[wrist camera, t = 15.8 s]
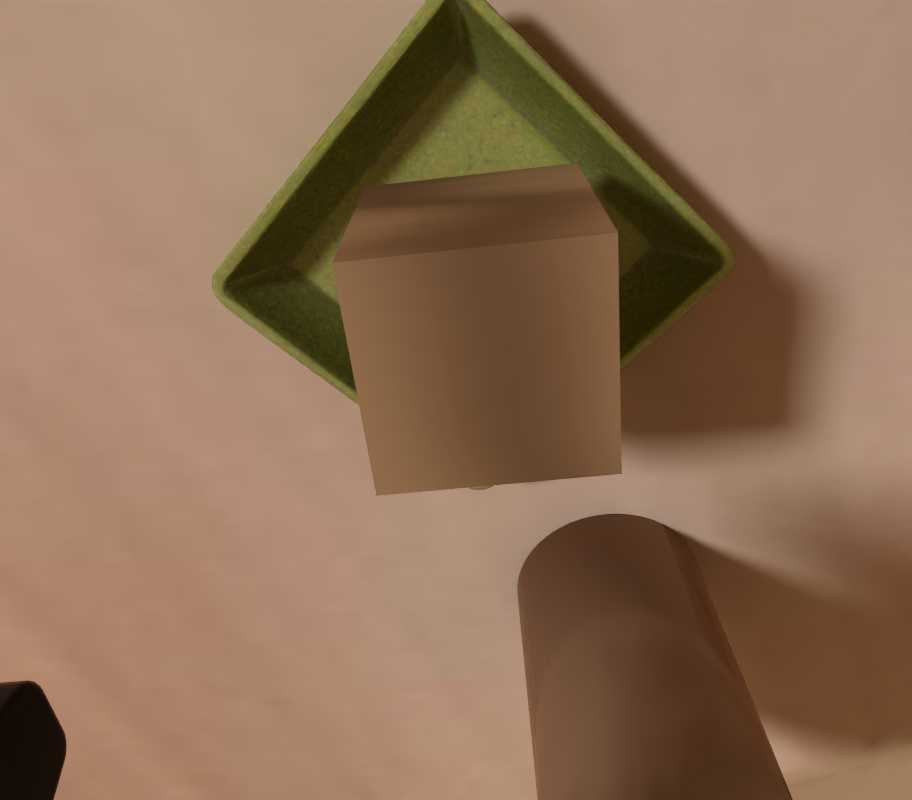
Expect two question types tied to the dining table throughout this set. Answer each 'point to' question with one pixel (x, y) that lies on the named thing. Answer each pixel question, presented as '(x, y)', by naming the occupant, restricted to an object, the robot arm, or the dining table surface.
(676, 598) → the brown cylinder
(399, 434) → the block
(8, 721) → the robot arm
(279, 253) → the green square dish
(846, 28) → the dining table surface
